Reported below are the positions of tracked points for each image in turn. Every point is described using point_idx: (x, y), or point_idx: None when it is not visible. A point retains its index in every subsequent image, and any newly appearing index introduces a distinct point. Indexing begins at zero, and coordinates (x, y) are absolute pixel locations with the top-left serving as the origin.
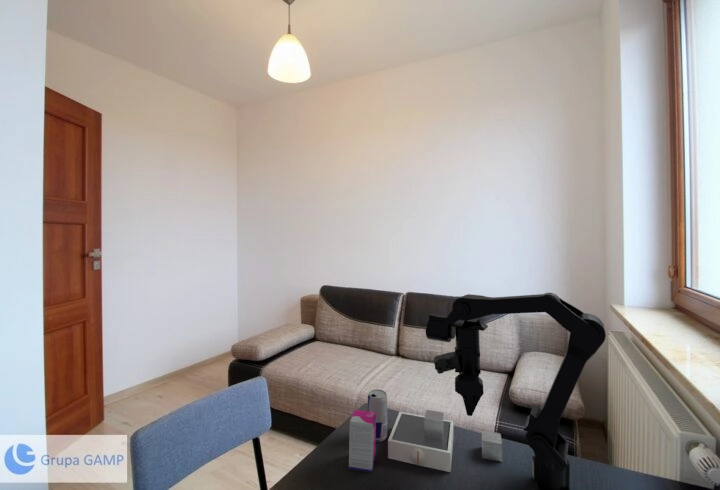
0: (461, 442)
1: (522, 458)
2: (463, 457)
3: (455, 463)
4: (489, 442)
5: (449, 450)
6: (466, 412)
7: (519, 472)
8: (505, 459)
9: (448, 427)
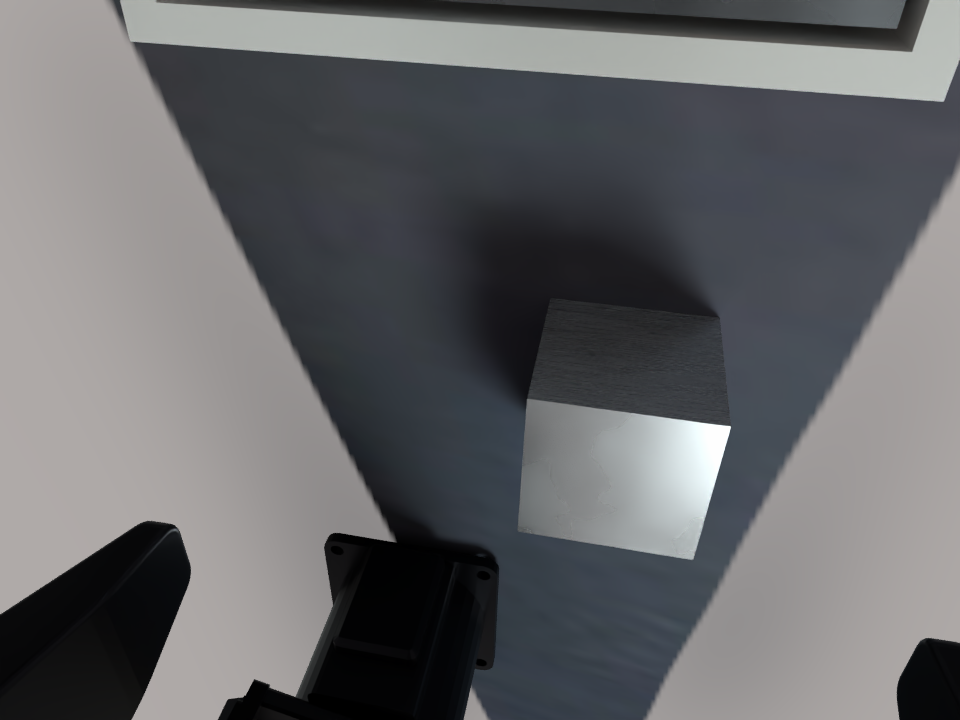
0: (774, 130)
1: None
2: (508, 133)
3: None
4: (526, 446)
5: (173, 28)
6: (96, 553)
7: (459, 490)
8: None
9: (736, 12)
